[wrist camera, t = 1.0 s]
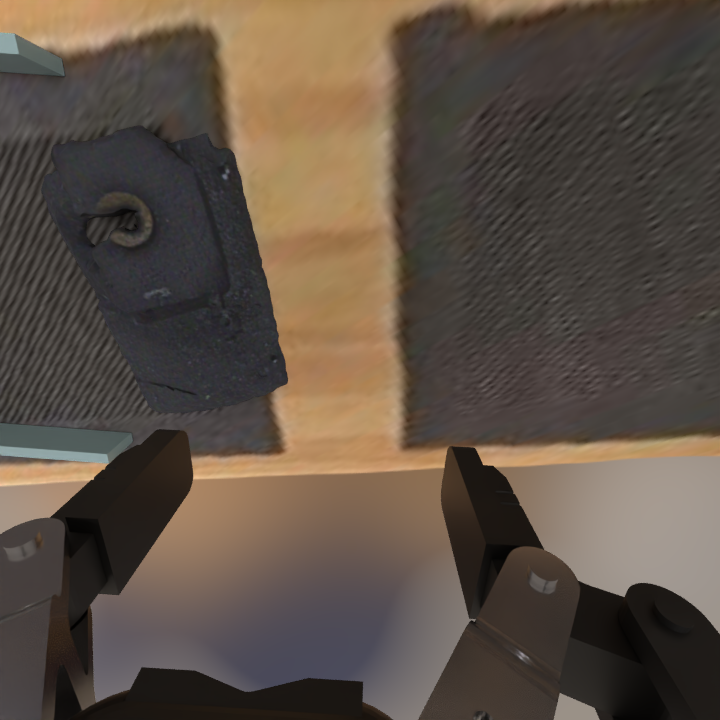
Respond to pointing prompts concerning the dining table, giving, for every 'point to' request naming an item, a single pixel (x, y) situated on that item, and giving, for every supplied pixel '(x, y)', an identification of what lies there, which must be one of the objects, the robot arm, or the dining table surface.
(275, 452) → the dining table surface
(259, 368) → the black pouch
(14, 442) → the box
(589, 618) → the robot arm
